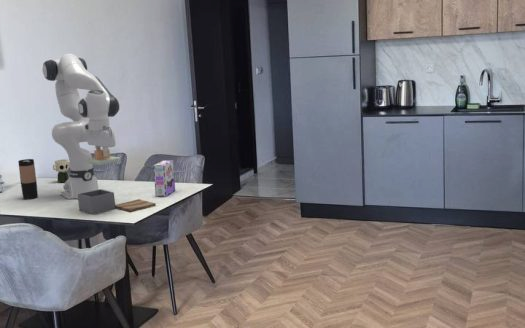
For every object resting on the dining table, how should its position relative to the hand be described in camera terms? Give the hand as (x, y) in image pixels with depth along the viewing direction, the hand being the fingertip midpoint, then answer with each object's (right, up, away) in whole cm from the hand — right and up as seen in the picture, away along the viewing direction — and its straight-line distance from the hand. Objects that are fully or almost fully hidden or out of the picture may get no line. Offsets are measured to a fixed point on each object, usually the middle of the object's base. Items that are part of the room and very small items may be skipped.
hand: (102, 155), depth 263 cm
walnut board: (+13, -24, +7) cm, 28 cm away
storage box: (-4, -25, +4) cm, 26 cm away
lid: (0, -3, +1) cm, 3 cm away
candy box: (+24, -19, +31) cm, 44 cm away
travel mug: (-47, -22, +35) cm, 63 cm away
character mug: (-43, -15, +73) cm, 86 cm away
